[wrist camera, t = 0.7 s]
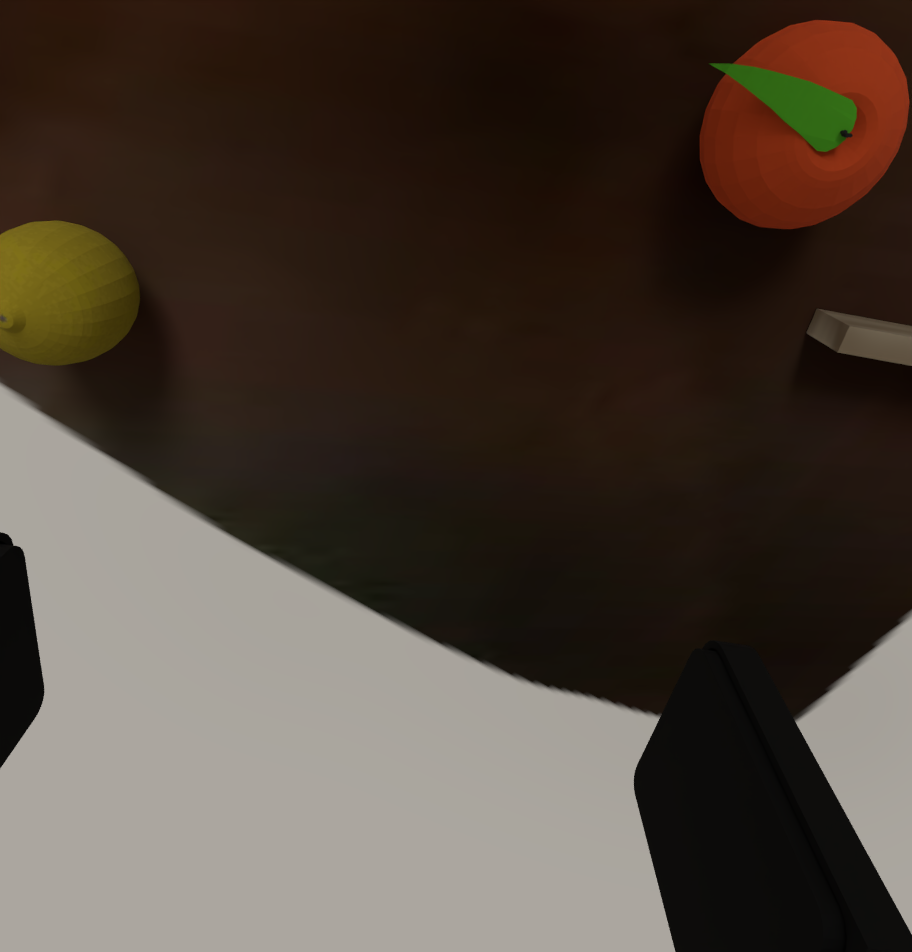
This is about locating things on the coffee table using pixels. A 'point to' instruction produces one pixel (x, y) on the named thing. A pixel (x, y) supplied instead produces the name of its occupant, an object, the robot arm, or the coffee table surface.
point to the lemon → (63, 293)
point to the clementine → (803, 124)
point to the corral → (863, 336)
